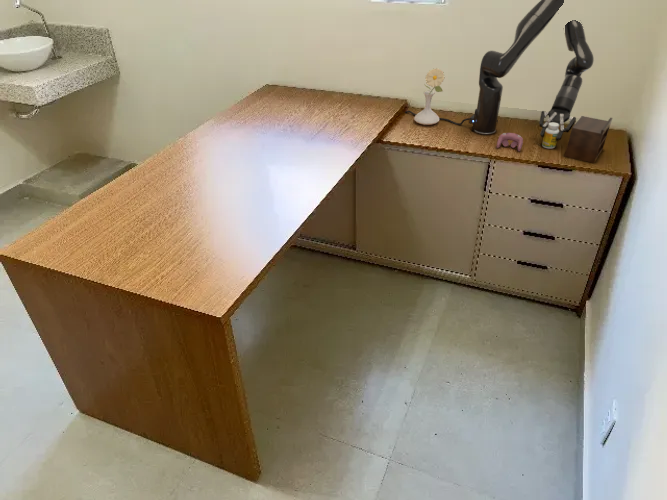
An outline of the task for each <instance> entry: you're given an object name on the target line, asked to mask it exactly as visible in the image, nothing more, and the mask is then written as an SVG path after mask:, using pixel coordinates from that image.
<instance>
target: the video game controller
mask: <svg viewBox="0 0 667 500" xmlns="http://www.w3.org/2000/svg"><path fill="white" fill-rule="evenodd" d="M509 141H512V142H510V143H509ZM509 144H510V147H511V148H513V149H515V148H517V152H518V153H519V152H520V151H521V150H522V147H523V144H524V138H523V137H522V136H521V135H520V134H518V133H514V132H503V133H501V134H499V136H498V139H497V141H496V149H499V148H500V147H501V145H503V147H506V148H507V147H509Z"/></svg>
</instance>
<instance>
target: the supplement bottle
mask: <svg viewBox="0 0 667 500" xmlns="http://www.w3.org/2000/svg"><path fill="white" fill-rule="evenodd" d="M559 128H560V125H559V124H558V123H555V122H551V123H549V124H548V127H547V128H546V130H545V134H544V137H543V138H542V143H541V146H542V147H543V148H544V149H549V150H550V149H551V150H553V149H555V148H556V146H557V142H558V141H556V138H557V135H558V133H559V130H560V129H559Z"/></svg>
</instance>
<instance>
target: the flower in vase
mask: <svg viewBox="0 0 667 500" xmlns="http://www.w3.org/2000/svg"><path fill="white" fill-rule="evenodd" d="M445 77H446V76H445V74H444V71H443V70H442V69H440V68H438V67H436V68H432V69H429V70H428V72H427V73H426V75H425V83H426V84H425V83H424V86H425V87H426V88H427V89H429V90H424V91H423V95H424V99H425V107H424V108H423V109H422V110H421V111H419V112H418V113H416V114H417V115H416V116H415V115H414V117H413V118H414V119H413V120H414V121H415V122H416V123H417V124H420V125H424V126H430V125H435V124H438V123H439V121H440V120H439V118H440V117H439V114H437V113H436V112H435V111H433V109H432V107H431V106H432V105H431V104H432V100H433V99H432V98H433V97H434V95H435V93H443V92H444V90H443V88H442V87H441V85H442V83H443V82H444V80H445ZM431 88H432V89H431ZM433 90H435V91H433Z"/></svg>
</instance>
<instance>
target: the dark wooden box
mask: <svg viewBox="0 0 667 500" xmlns="http://www.w3.org/2000/svg"><path fill="white" fill-rule="evenodd" d="M612 121H613V117H609V119H608V120H605V119H599V118H595V117H589V116H584V115H581V117H579V118H578V120H576V122H575V124H574V125H573V127H572V128H571V130H570V134H569V136H568V137H569V138H568V142H567V144H566V145H567V146H566V149H565V153H564V157H565V158H570V159H574V160H577V161H583V162H586V163H587V162H588V163H591V164H594V163H595V162H596V161H597V159H598V158H599V156H600V154H602V151H603V150H604V147H605V143H606V140H607V137H608V134H609V131H610V127H611V124H612Z"/></svg>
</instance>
